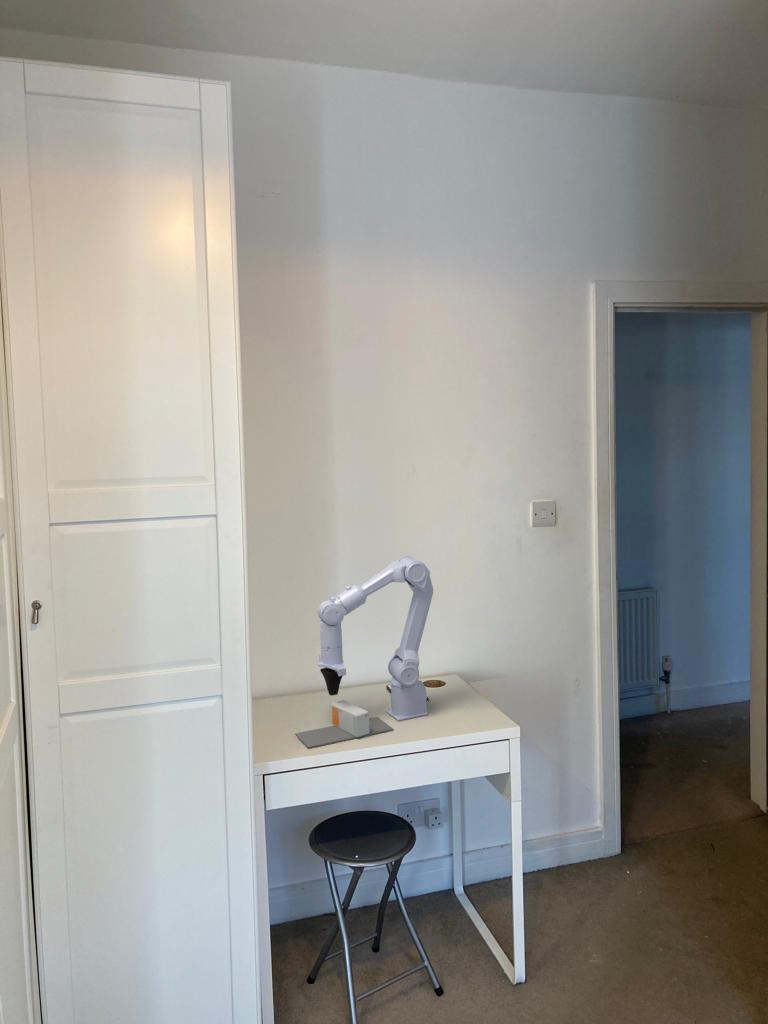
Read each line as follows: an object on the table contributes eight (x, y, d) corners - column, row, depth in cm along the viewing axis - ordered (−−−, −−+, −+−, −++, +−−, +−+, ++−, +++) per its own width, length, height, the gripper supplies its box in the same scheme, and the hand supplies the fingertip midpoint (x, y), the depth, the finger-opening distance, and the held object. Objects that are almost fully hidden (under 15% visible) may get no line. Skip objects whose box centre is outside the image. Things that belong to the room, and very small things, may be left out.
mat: (377, 718, 215) (377, 716, 215) (393, 730, 206) (393, 728, 206) (295, 735, 205) (295, 733, 205) (308, 749, 196) (308, 747, 196)
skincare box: (330, 703, 210) (356, 715, 200) (343, 699, 212) (369, 711, 203) (331, 725, 210) (357, 738, 201) (343, 721, 213) (370, 733, 204)
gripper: (308, 641, 214) (310, 689, 216) (327, 654, 201) (329, 705, 203) (331, 637, 217) (333, 684, 219) (352, 650, 204) (354, 700, 206)
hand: (333, 694), depth 211 cm, fingers closed
